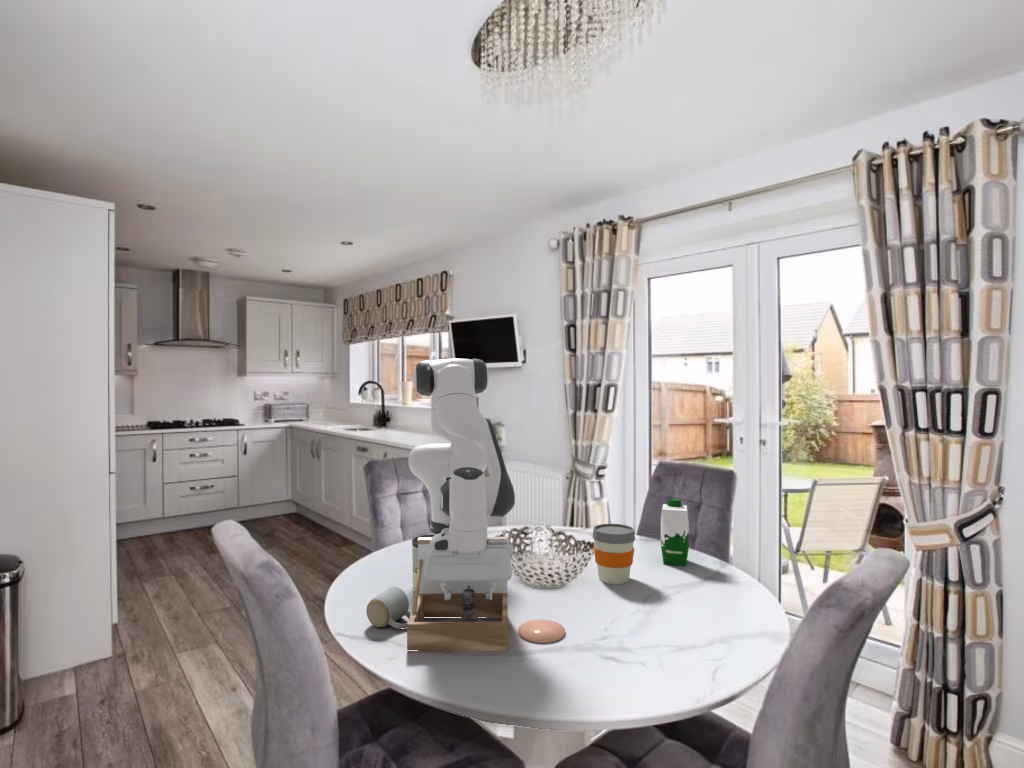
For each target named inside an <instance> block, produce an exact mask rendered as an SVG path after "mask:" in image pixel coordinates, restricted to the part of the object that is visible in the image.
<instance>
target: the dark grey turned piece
mask: <svg viewBox="0 0 1024 768" xmlns="http://www.w3.org/2000/svg"><path fill="white" fill-rule="evenodd" d="M467 587H468V588H467V589H465V590H464V591H463V603H462V604H461V607H462V617H461V618H459V619H457V620H456V621H455V622H482V618H478V617H476V615H475V607H476V603H475V591H474V590H473V589H471V588H470V586H469V585H468V586H467Z"/></svg>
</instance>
